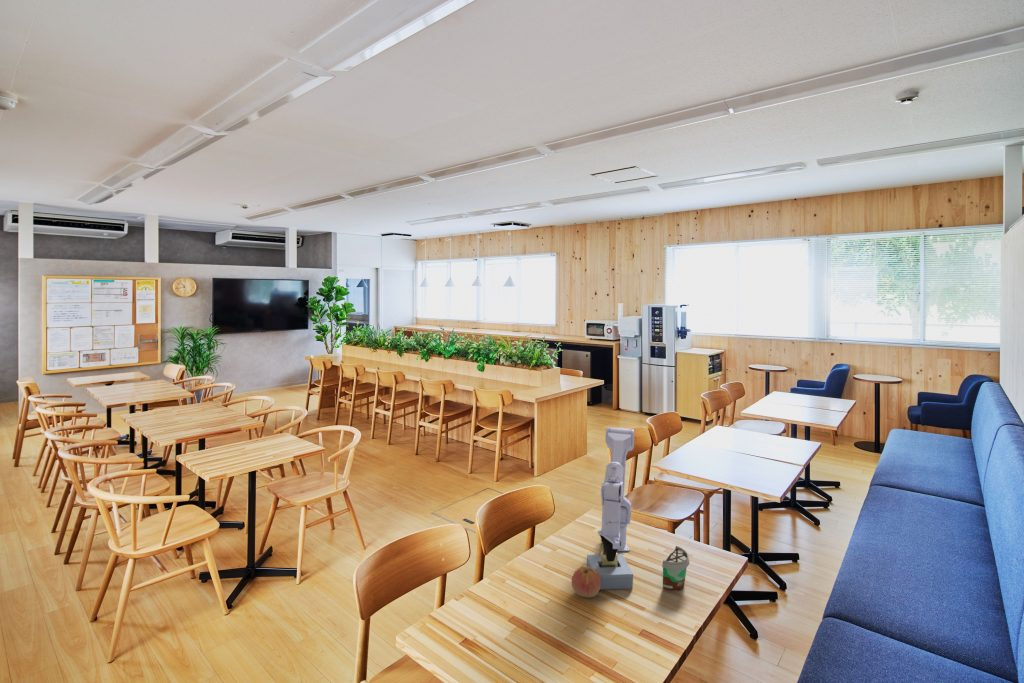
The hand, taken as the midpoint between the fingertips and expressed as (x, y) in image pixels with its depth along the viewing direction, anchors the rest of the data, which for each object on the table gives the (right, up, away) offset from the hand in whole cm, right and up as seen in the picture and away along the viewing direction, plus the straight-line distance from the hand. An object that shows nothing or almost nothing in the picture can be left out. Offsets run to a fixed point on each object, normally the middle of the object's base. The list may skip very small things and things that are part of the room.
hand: (609, 558), depth 168 cm
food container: (+21, -8, -2) cm, 23 cm away
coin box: (0, -7, +1) cm, 7 cm away
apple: (-9, -8, -8) cm, 14 cm away
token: (0, -3, 0) cm, 3 cm away
